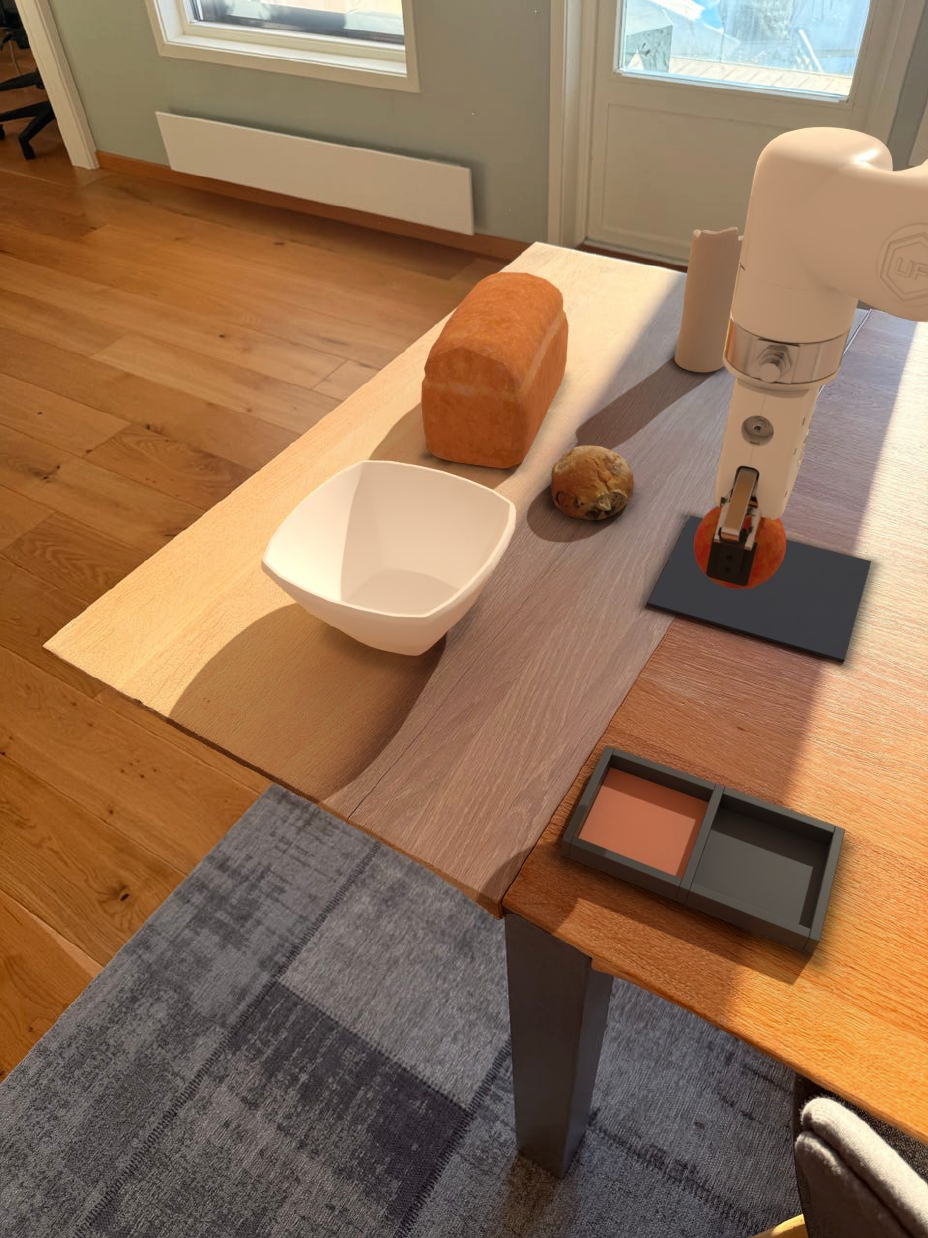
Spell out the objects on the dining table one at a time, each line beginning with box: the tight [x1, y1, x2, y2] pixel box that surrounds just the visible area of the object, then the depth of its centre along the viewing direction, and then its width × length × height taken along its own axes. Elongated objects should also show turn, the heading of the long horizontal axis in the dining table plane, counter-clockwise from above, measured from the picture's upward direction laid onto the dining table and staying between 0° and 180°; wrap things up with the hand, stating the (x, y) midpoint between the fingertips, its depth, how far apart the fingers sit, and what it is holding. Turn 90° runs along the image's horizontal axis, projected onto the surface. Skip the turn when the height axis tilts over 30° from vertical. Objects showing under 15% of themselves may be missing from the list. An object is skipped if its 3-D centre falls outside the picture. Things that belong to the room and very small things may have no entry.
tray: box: [560, 744, 846, 957], centre depth 74 cm, size 20×11×2 cm, turn 64°
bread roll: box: [550, 445, 635, 521], centre depth 108 cm, size 10×10×8 cm
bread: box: [420, 271, 569, 469], centre depth 118 cm, size 14×26×16 cm, turn 162°
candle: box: [674, 226, 744, 373], centre depth 126 cm, size 7×14×20 cm, turn 154°
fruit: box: [694, 501, 787, 589], centre depth 71 cm, size 7×7×8 cm
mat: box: [646, 515, 872, 663], centre depth 97 cm, size 20×16×1 cm
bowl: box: [260, 459, 517, 657], centre depth 92 cm, size 22×22×12 cm
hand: (739, 547), depth 72 cm, fingers closed on fruit, 7 cm apart
